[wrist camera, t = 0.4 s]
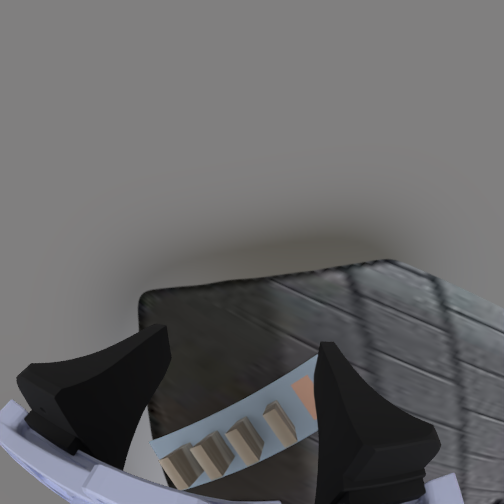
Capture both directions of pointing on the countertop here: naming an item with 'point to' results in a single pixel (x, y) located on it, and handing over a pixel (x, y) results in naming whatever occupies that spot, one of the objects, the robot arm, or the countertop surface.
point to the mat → (254, 418)
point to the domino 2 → (213, 455)
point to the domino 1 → (182, 467)
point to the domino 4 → (280, 423)
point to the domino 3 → (246, 441)
